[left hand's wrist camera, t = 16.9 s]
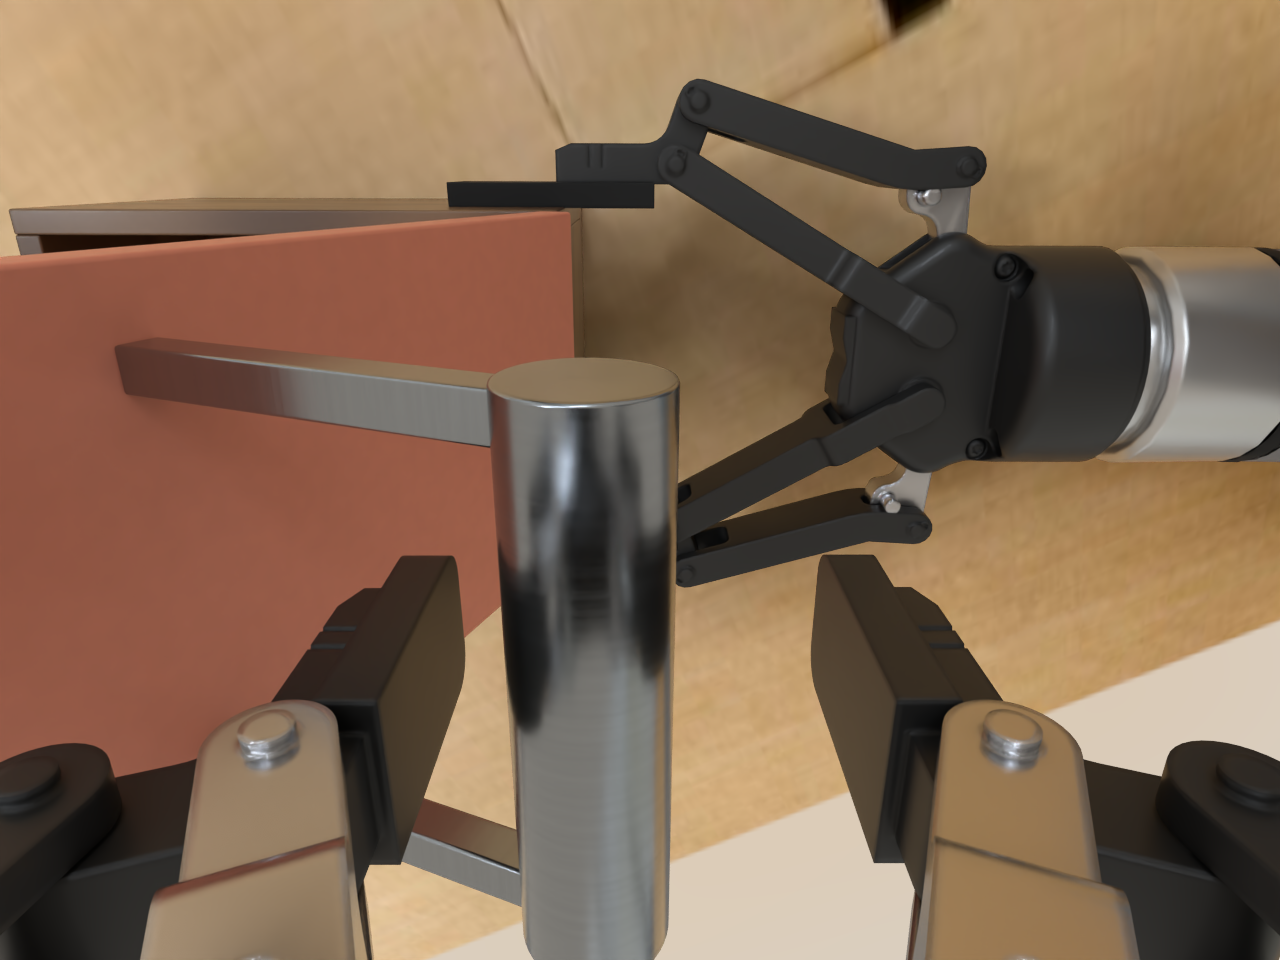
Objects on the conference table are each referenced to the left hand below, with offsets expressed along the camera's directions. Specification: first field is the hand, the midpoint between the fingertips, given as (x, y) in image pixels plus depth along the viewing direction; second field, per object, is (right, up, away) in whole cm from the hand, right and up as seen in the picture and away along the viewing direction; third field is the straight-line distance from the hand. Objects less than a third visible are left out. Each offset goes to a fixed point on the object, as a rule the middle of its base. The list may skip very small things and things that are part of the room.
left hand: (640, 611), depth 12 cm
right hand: (-6, +6, +16) cm, 19 cm away
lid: (-6, +2, +5) cm, 8 cm away
